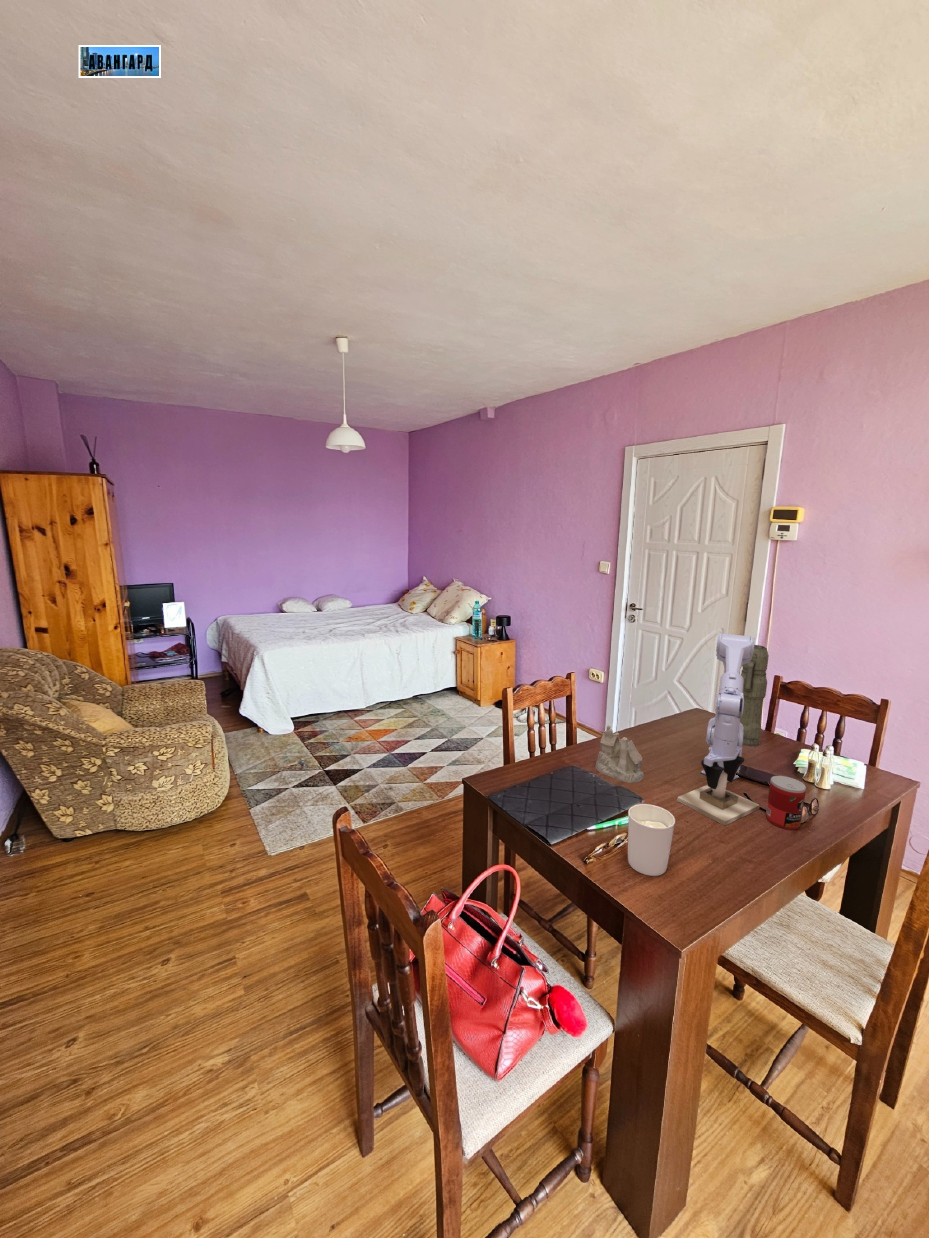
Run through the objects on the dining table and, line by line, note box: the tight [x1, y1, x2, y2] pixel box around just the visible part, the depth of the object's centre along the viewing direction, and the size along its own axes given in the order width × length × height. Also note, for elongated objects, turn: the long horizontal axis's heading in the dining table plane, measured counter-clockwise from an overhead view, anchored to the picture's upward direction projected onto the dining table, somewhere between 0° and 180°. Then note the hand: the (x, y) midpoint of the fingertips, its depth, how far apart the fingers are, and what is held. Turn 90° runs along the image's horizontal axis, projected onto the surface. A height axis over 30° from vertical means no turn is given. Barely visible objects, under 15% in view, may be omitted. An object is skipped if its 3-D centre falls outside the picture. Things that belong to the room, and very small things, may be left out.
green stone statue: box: [739, 644, 770, 747], centre depth 183 cm, size 9×12×35 cm
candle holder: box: [627, 803, 676, 877], centre depth 116 cm, size 10×10×12 cm
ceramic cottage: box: [594, 724, 645, 784], centre depth 162 cm, size 16×16×15 cm
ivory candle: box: [712, 772, 728, 800], centre depth 141 cm, size 3×3×8 cm
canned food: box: [765, 775, 807, 831], centre depth 134 cm, size 8×8×11 cm
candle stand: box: [676, 784, 760, 827], centre depth 142 cm, size 16×14×3 cm
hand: (720, 783), depth 141 cm, fingers open, 7 cm apart
